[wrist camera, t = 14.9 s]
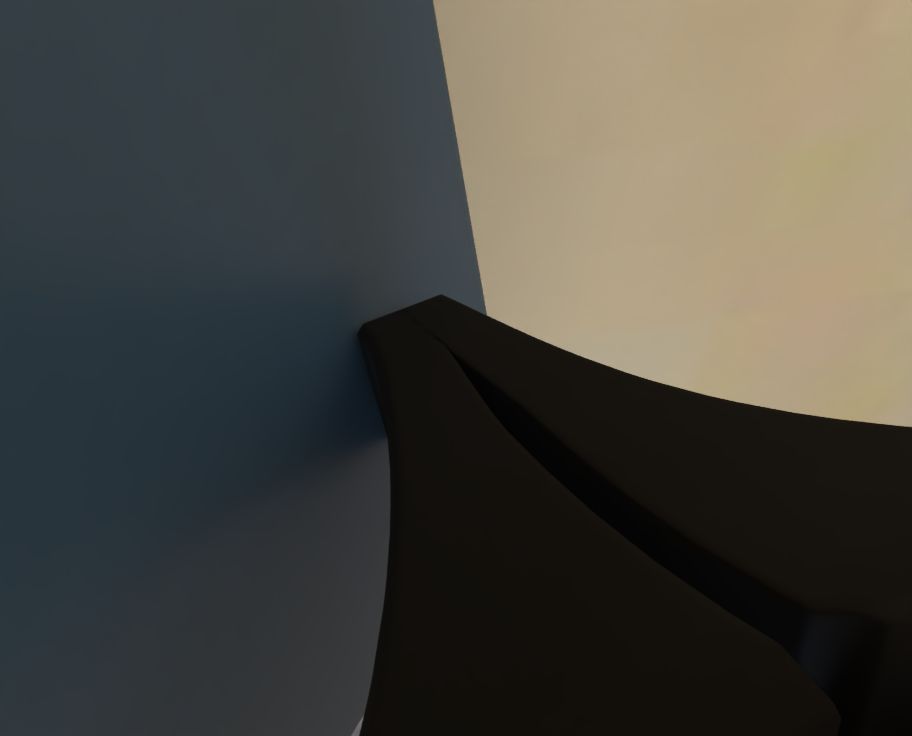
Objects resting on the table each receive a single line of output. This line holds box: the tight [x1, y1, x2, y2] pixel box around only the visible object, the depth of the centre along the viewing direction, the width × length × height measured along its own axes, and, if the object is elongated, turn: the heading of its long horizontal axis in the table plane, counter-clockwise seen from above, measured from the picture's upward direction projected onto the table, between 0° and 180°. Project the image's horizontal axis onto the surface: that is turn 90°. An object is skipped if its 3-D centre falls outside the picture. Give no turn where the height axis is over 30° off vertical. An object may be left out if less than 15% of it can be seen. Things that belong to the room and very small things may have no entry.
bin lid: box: [0, 0, 487, 736], centre depth 9 cm, size 11×10×1 cm
